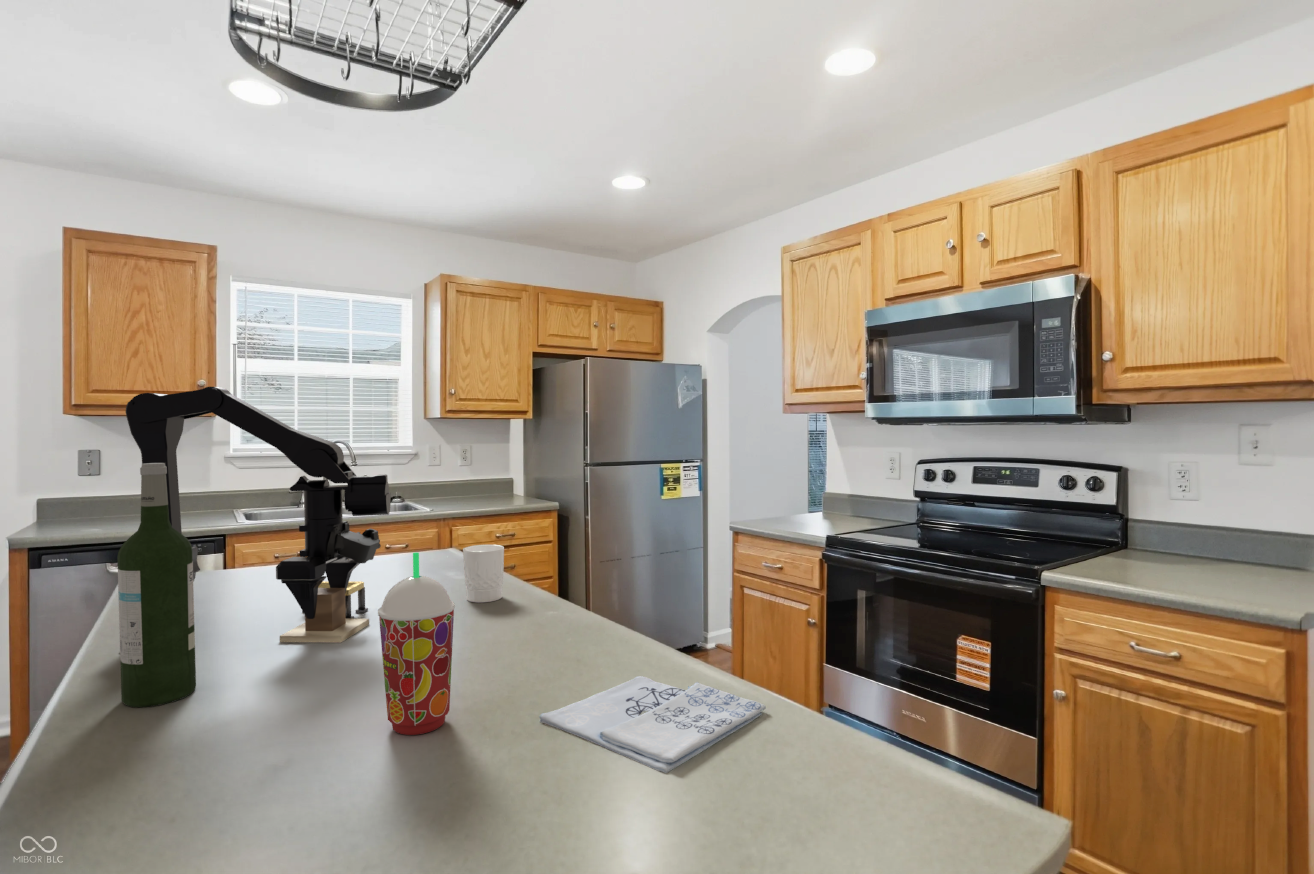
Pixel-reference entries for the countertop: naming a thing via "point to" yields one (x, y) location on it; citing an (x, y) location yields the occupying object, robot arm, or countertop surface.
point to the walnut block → (328, 610)
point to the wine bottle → (156, 603)
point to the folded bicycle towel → (655, 720)
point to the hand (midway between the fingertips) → (325, 610)
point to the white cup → (483, 572)
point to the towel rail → (351, 589)
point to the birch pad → (325, 633)
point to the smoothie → (417, 653)
